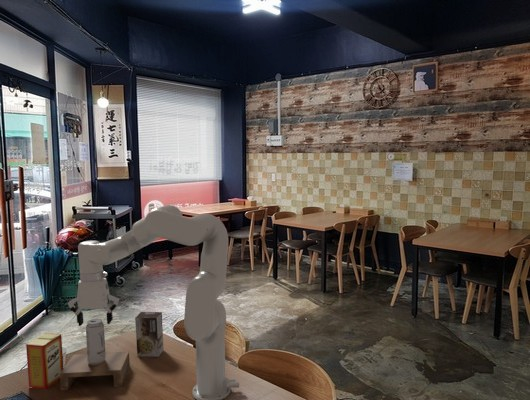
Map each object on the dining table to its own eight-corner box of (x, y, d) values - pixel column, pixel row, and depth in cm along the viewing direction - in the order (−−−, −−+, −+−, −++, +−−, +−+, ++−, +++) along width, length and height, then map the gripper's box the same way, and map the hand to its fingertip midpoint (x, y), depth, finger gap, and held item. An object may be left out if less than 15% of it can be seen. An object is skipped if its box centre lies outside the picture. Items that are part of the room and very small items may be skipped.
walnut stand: (129, 366, 163) (129, 351, 162) (121, 386, 149) (120, 369, 148) (74, 369, 161) (73, 354, 160) (60, 390, 147) (59, 373, 146)
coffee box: (164, 349, 176) (162, 311, 175) (158, 357, 170) (157, 317, 168) (142, 349, 177) (140, 311, 176) (136, 356, 171) (134, 317, 169)
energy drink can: (102, 365, 151) (100, 324, 149) (84, 366, 151) (82, 324, 149) (108, 357, 157) (106, 318, 155) (91, 358, 157) (89, 318, 155)
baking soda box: (45, 389, 147) (42, 344, 145) (29, 387, 148) (25, 343, 147) (63, 375, 156) (61, 333, 155) (47, 374, 158) (45, 332, 156)
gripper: (119, 272, 155) (122, 318, 157) (69, 274, 154) (73, 321, 155) (114, 277, 148) (117, 326, 150) (62, 280, 146) (66, 329, 148)
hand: (95, 323), depth 152 cm, fingers open, 9 cm apart
